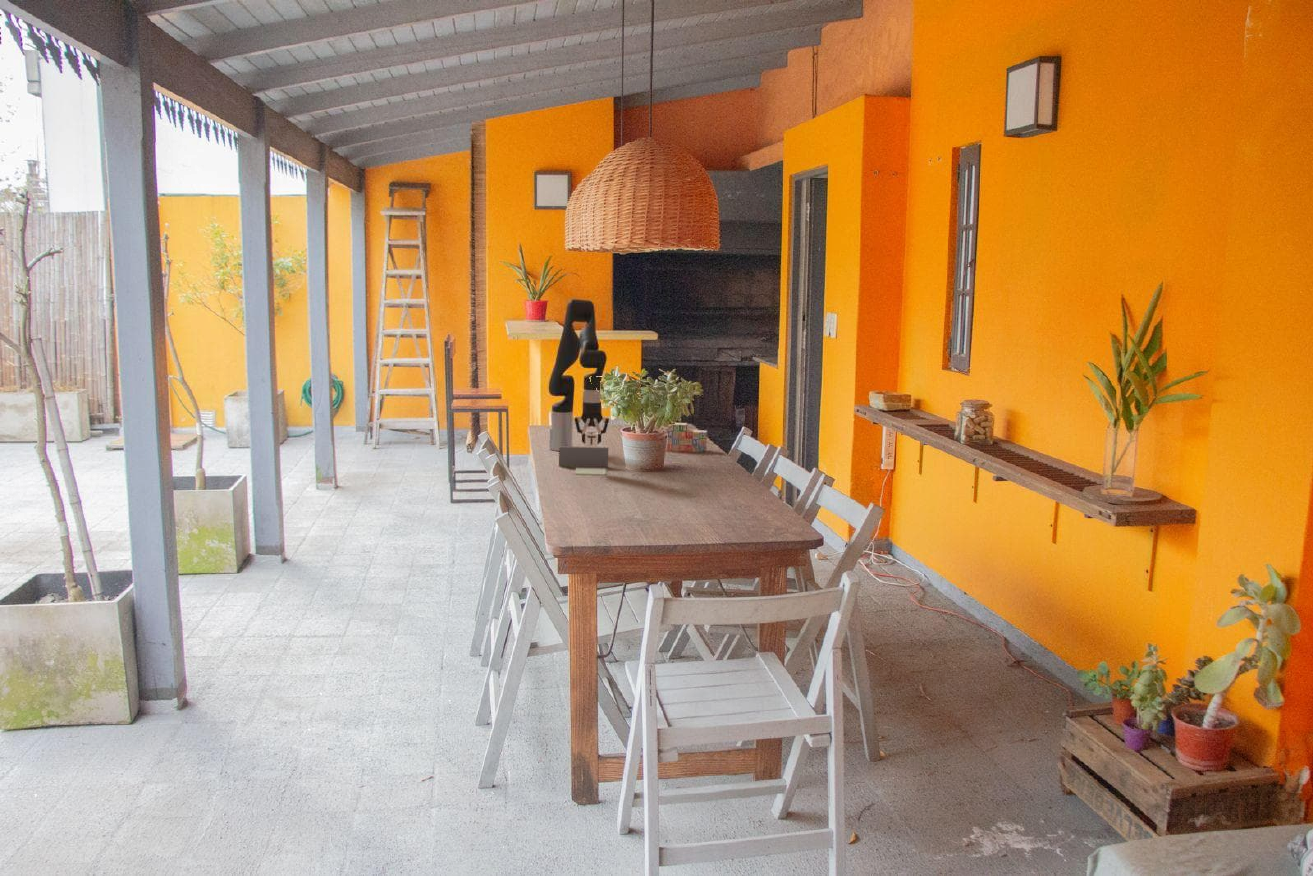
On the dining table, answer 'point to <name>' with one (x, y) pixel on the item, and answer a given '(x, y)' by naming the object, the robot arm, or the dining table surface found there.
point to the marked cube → (591, 439)
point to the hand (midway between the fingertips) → (591, 443)
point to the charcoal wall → (583, 456)
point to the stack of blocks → (686, 438)
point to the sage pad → (590, 471)
